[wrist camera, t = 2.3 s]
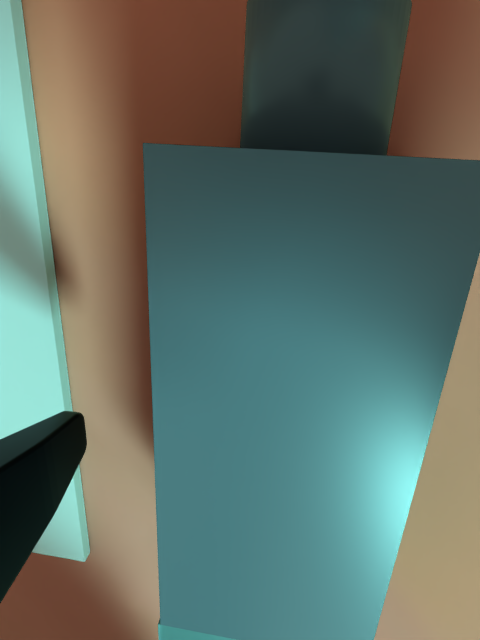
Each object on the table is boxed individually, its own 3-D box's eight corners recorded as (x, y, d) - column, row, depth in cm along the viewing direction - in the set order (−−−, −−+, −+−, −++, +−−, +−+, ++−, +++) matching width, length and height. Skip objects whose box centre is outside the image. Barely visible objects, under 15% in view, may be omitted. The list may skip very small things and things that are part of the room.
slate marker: (331, 551, 13) (344, 754, 9) (208, 530, 14) (161, 714, 9) (424, 52, 8) (576, -82, 4) (223, 47, 9) (130, -75, 4)
